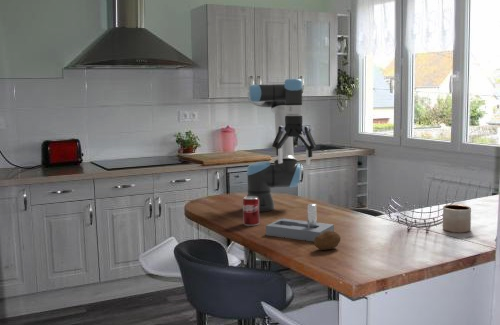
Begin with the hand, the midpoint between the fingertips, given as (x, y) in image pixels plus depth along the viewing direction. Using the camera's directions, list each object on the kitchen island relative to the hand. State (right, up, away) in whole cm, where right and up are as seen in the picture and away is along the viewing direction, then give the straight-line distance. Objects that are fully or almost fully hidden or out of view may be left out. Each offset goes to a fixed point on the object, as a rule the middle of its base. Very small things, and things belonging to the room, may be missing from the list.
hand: (294, 164), depth 238 cm
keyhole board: (+1, -29, -14) cm, 32 cm away
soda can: (-19, -27, +5) cm, 33 cm away
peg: (+6, -29, -17) cm, 34 cm away
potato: (+9, -32, -36) cm, 49 cm away
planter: (+66, -27, -12) cm, 73 cm away
